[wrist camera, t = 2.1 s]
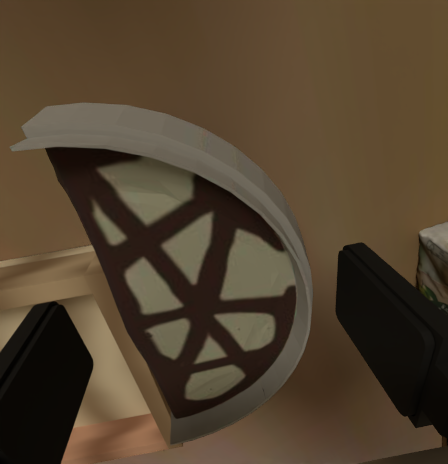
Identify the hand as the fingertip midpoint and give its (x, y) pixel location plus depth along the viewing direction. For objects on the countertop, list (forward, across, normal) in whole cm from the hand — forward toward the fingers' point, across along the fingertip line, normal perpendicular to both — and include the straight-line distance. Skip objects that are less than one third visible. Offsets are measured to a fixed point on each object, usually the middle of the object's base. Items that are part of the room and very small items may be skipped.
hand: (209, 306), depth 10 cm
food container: (+9, -1, -1) cm, 9 cm away
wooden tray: (+9, +11, +10) cm, 18 cm away
